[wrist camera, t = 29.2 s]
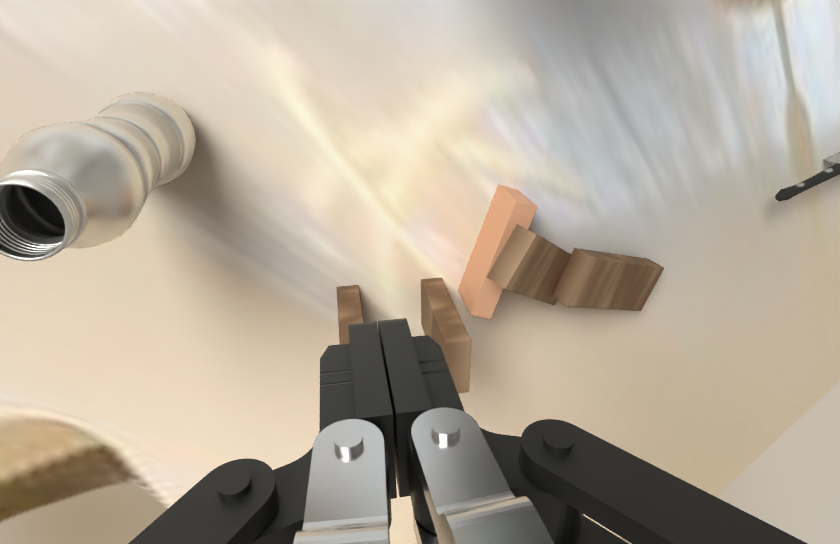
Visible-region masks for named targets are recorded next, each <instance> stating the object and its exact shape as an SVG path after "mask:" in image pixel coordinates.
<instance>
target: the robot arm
mask: <svg viewBox="0 0 840 544" xmlns="http://www.w3.org/2000/svg"><path fill="white" fill-rule="evenodd" d="M348 329H349V341H350V344H341V345H331V346H328V348H327V349H326V351H325V352H324V354H323V355H322V357H321V358H320V431H319V434H318V436H317V437H316V439H315V441H314V445H313V447H312V449H311V450H310V451H309V452H308V453H306V454H305V455H304V456H303V457H301V458H299V459H298V460H296V461H294V462H292V463H290V464H287V465H285V466H282V467H280V468H277V469H275V470H272V469H271V467H269V466H268V465H267V464H266V463H264V462H262V461H259V460H256V459H238V460H234V461H230V462H228V463H225V464H223V465H221V466H219V467H217V468H216V469H214V470H212V471H211V472H210V473H209V474H207V475H206V476H205V477H204V478H203V479H202V480H201V481H199V482H198V483H197V484H196V485H195V486H194V487H193V488H191V489H190V490H189V491H188V492H187V493H186V494H185V495H183V496H182V497H181V498H180V499H179V500H178V501H177V502H175V503H174V504H173V505H172V506H171V507H170V508H169V509H167V510H166V511H165V512H164V513H163V514H162V515H161V516H160V517H158V518H157V519H156V520H155V521H154V522H153V523H152V524H150V525H149V526H148V527H147V528H146V529H145V530H144V531H142V532H141V533H140V534H139V535H138V536H137V537H136V538H135V539H134V540H132V541H131V542H130V543H129V544H390V538H389V528H390V525H391V520H392V519H391V499H393V498H397V493H396V477H397V483H398V490H399V496H400V497H405V496H411V500H412V506H413V522H414V531H415V535H416V539H417V543H418V544H628V543H627V542H625V541H623V540H622V539H620V538H619V537H617V536H615V535H614V534H612V533H610V532H609V531H607V530H606V529H604V528H602V527H601V526H599V525H597V524H596V523H594V522H593V521H591V520H589V519H588V518H586V517H585V516H583V514H585V515H587V516H588V517H590V518H592V519H593V520H595V521H596V522H598V523H600V524H601V525H603V526H605V527H606V528H608V529H609V530H611V531H613V532H614V533H616V534H618V535H619V536H621V537H622V538H624V539H626V540H628V541H629V542H631V543H632V544H807V543H805V542H803V541H801V540H799V539H797V538H795V537H793V536H791V535H789V534H787V533H786V532H783V531H782V530H780V529H778V528H776V527H774V526H772V525H770V524H768V523H766V522H764V521H762V520H760V519H758V518H756V517H754V516H752V515H750V514H748V513H746V512H744V511H742V510H740V509H738V508H736V507H734V506H732V505H730V504H728V503H726V502H724V501H722V500H720V499H718V498H717V497H715V496H713V495H711V494H709V493H707V492H705V491H703V490H701V489H699V488H697V487H695V486H693V485H691V484H689V483H687V482H685V481H683V480H681V479H679V478H677V477H675V476H673V475H671V474H669V473H667V472H665V471H663V470H661V469H659V468H657V467H655V466H654V465H652V464H650V463H648V462H646V461H644V460H642V459H640V458H638V457H636V456H634V455H632V454H630V453H628V452H626V451H624V450H622V449H620V448H618V447H616V446H614V445H612V444H610V443H608V442H606V441H604V440H602V439H600V438H598V437H596V436H594V435H592V434H590V433H588V432H586V431H585V430H583V429H581V428H579V427H577V426H575V425H572V424H570V423H568V422H564V421H560V420H553V419H547V420H540V421H537V422H534V423H532V424H530V425H529V426H528V427H526V429H525V430H524V432H523V434H522V437H517V436H509V435H501V434H495V433H492V432H488V431H486V430H484V429H482V428H480V427H479V426H478V424H477V422H476V421H475V420H474V419H473V417H471V416H470V415H469V414H467V413H465V411H464V409H463V406H462V403H461V401H460V398H459V395H458V393H457V390H456V387H455V384H454V382H453V379H452V376H451V373H450V372H449V368H448V365H447V363H446V361H445V357H444V354H443V352H442V349H441V346H440V345H439V344H438V343H437V342H435V341H434V340H433V339H432V338H431V337H430V336H429V335H426V336H416V337H412V336H411V333H410V329H409V326H408V322H407V319H406V318H404V319H394V320H384V321H378V329H377V323H376V321H375V322H365V323H355V324H348Z"/></svg>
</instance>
